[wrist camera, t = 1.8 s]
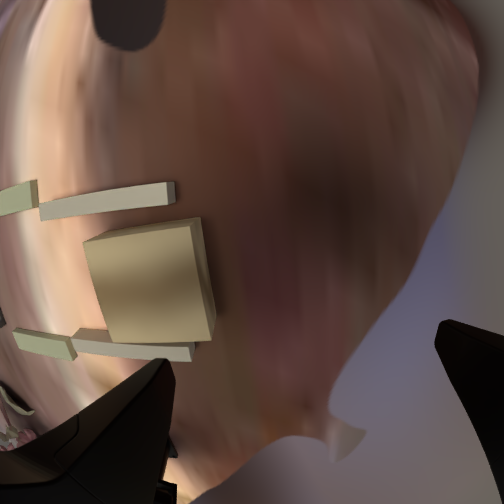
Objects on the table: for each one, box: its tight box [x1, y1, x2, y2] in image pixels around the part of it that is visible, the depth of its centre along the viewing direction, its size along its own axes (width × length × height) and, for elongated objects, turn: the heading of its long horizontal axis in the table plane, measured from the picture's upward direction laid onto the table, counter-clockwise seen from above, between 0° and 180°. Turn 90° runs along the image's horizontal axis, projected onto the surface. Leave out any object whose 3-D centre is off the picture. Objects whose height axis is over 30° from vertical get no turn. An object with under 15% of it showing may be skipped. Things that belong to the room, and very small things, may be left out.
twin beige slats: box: [39, 182, 195, 362], centre depth 20 cm, size 14×12×2 cm
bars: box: [0, 180, 77, 361], centre depth 20 cm, size 18×10×1 cm, turn 3°
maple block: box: [83, 217, 217, 343], centre depth 19 cm, size 8×8×4 cm
